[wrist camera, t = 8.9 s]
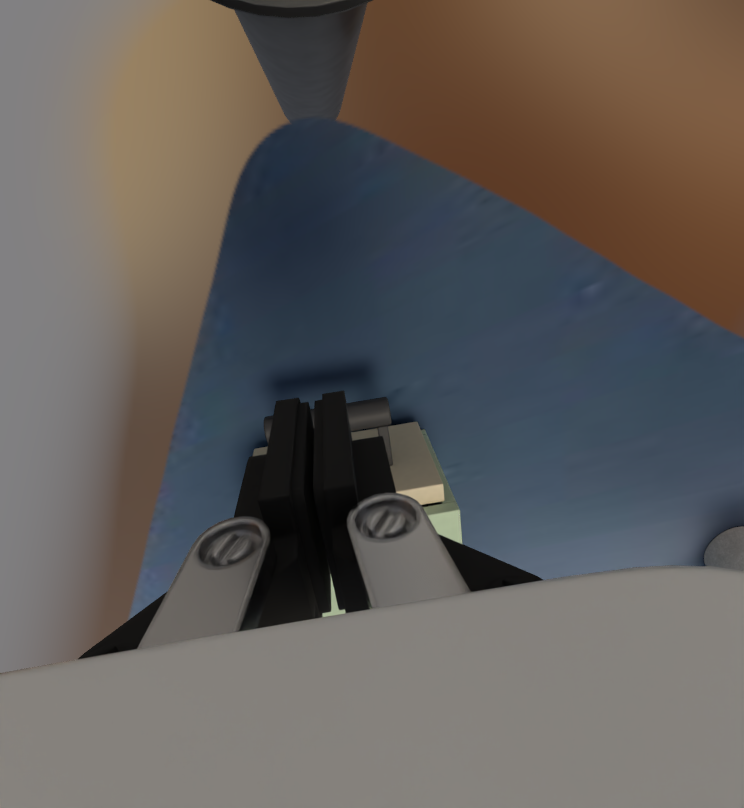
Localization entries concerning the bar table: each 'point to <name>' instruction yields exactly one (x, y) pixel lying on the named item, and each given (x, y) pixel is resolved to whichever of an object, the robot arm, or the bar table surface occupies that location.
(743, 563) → the house plant
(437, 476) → the drawer
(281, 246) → the bar table surface
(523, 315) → the bar table surface
